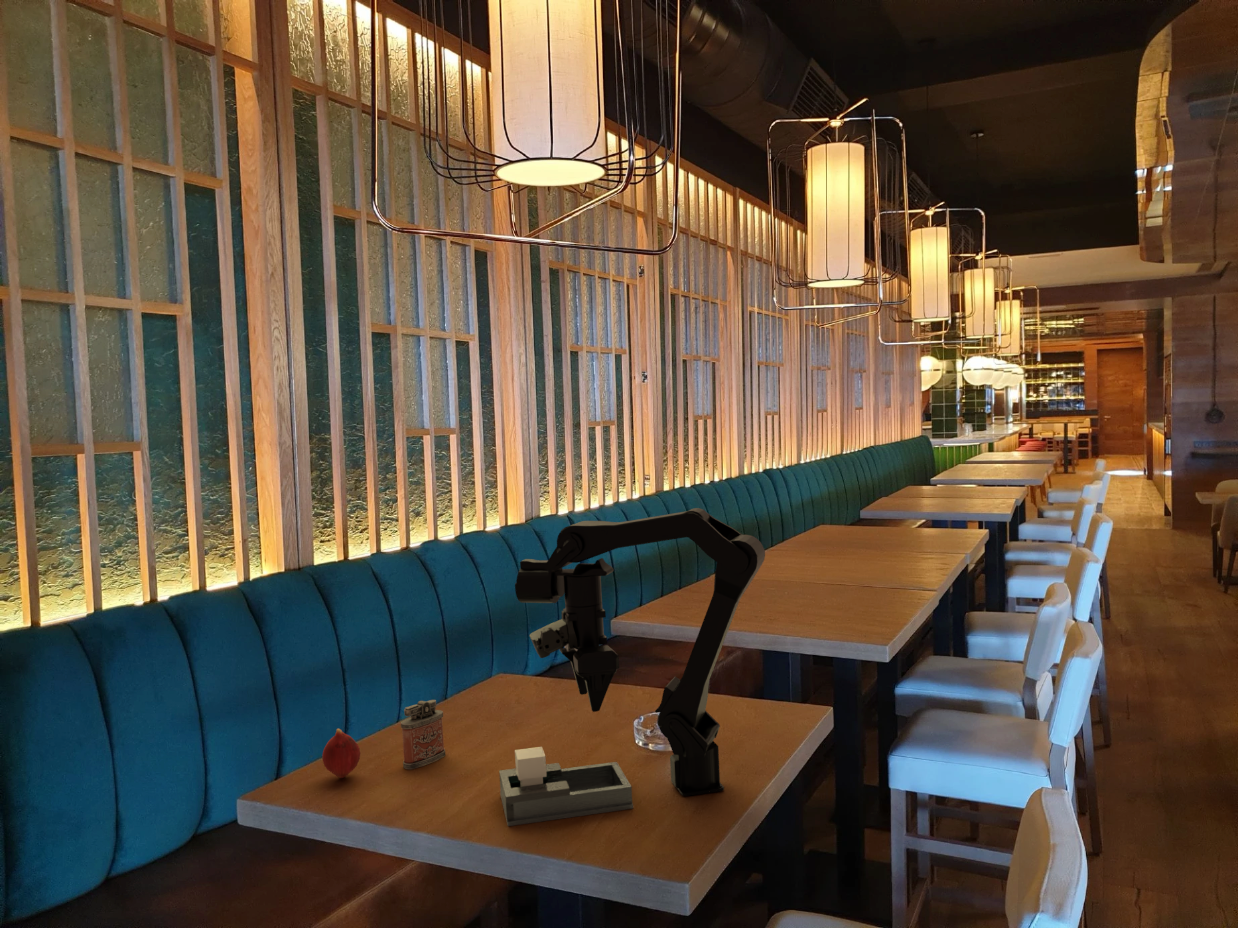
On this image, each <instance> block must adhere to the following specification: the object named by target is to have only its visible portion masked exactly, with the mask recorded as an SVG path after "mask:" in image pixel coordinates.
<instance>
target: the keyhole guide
mask: <svg viewBox="0 0 1238 928" xmlns="http://www.w3.org/2000/svg"><path fill="white" fill-rule="evenodd" d="M546 776H547V777H543V784H538V785H531V786H523V787H520V780H519V779H518V776H517V772H516V767H515V768H507V769H500V770H499V787H500V791H499V793H500V794H499V795H500V799H501V805H502V808H503V811H504V817H505V820H506V825H507V827H513V826H520V825H527V824H533V823H541V822H542V823H543V822H547V821H555V820H561V819H569V818H575V817H582V816H590V815H597V814H604V813H609V812H610V813H611V812H612V813H613V812H618V811H619V812H620V811H624V810H626V811H627V810H633V809H634V804H633V789H632V788H633V787H632V785H631V783H630V782H629V780H628V778H627V777H626V774H625V773H624V772H623V770H622V768H621V767H620V765H619V762H617V761H612V762H611V761H610V762H605V763H597V764H589V765H581V766H574V767H565V768H561V765H560V763H559V762H555V763H546Z"/></svg>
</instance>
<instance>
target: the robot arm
mask: <svg viewBox="0 0 1238 928" xmlns="http://www.w3.org/2000/svg"><path fill="white" fill-rule="evenodd" d="M683 538H688V539H690V540H691V541H692V542H694V543H695V545H697V546H698V547H699V549H700V550H702V552H704V553H705V554H706V556H708V557H709V558H710V559H711V560H713V561H715V562H716V567H715V572H714V582H713V583H714V585H713V593H712V597H711V599H710V602H709V605H708V607H707V609H706V612H705V616H704V618H703V620H702V623H701V626H700V628H699V632H698V633H697V637H696V640H695V642H694V643H693V644H694V645H693V646H692V647H693V648H692V650H691V652H690V656H689V658H688V660H687V663H686V666H685V668H684V671H683V674H682V676H681V678H678V677H677V676H674V677H673V678H672V679H671V680H670V681H669V682H668V683H667V685H665V687H664V689H663V691H662V697H661V702H660V704H659V706H658V707H657V708H656V709H655V710H654V712H655V713H657V714H658V715H657V720H656V721H657V726H658V728H659V730H660V732H661V734H662V735H663V736H664V737H665V738H666V739H667V741H668V743H669V746H670V749H671V751H672V753H673V754H672V755H670V757H669V760H670V763H669V764H670V765H669V766H670V782H671V784H672V785H673V786H674V788H676V789H677V790H678V792H679V794H680V795H681V796H684V797H686V796H687V797H688V796H694V795H696V796H697V795H701V794H709V793H715V792H716V793H717V792H723V791H725V786H724V785H723V784H722V783H721V777H720V773H721V772H720V755H719V753H720V752H719V750H720V749H719V745H718V744H717V743H716V742H715V739H716V738H717V736H718V733H719V730H720V727H721V725H720V723H719V722H718V721H717V720H715V718H714V717H713V716H712V715H711V714H710V713H709V712H708V711H707V710H706V708H707V704H708V699H709V684H710V683H709V682H710V680H711V679H710V678H711V676H712V674H713V671H714V669H715V665H716V663H717V661H718V659H719V656H720V653H721V651H722V647H723V644H724V643H725V641H726V640H725V639H726V637H727V635H728V632H729V630H730V627H731V623H732V620H733V619H734V616H735V613H736V610H737V609H738V605H739V603H740V600H741V599H742V597H743V595H744V594H745V592H747V589H748V587H749V586H750V585H751V583H752V581H753V580H754V578H755V576H757V575H756V574H757V573H758V572H759V570H760V568H761V567H762V565H763V564H764V561H765V558H766V550H765V548H764V545H763V544H762V542H761V541H760V540H759V539H758V538H757V537H755V536H753V535H750V534H742V533H741V532H739V531H738V530H736V529H735V528H734V527H732V526H730V525H728V524H726V523H724V522H722V521H721V520H719V519H718V518H715V517H714V516H712V515H711V514H710V513H708V512H707V511H706V510H705V509H702V508H699V507H695V508H691V509H689V510H686V511H681V512H680V511H679V512H675V513H674V512H673V513H669V514H663V515H656V516H650V517H645V518H639V519H633V520H626V521H620V522H617V521H615V522H614V521H608V520H607V521H606V520H582V521H579V522H576V523H573V524H570V525H568V526H565V527H563V528H562V529H561V531H560V532H559V533H558V535H557V538H556V547H555V549H554V550H553V552H552V554H551V555H550V556H549V558H548V559H544V560H538V559H533V558H525V559H523V560H521V561H520V562H519V565H520V566H519V567H520V568H519V570H518V573H517V575H516V581H515V583H514V591H515V596H516V599H517V600H518V602H519V603H522V604H523V603H525V604H526V603H531V604H533V603H535V604H556V603H558V602H559V600H560V598H561V597H563V596H564V603H565V608H562V610H561V619H559V620H557V621H554V622H552V623H548V624H547V625H545V626H543V627H540V628H539V629H537V630H535V631H532V632H530V634H529V638H530V640H531V642H532V645H533V647H534V649H535V651H536V654H537V655H538V656H539V658H540V659H544V658H547V657H548V656H550V655H551V654H552V653H554V652H556V651H558V650H559V652H560V653H561V654H562V655H563V656H564V657H565V658H567V660H569V661H570V664H571V667H572V671H573V674H574V677H575V682H576V685H577V689H578V692H579V694H580V695H581V696H582V695H587V696H588V700H589V701H588V702H589V705H590V709H591V711H592V712H593V713H595V712H596V713H597V712H600V710H601V707H602V705H603V702H604V700H605V698H606V695H607V693H608V689H609V687H610V684H611V682H612V680H613V677H614V676H615V674H616V673H617V670H618V669H620V656H619V654H618V653H616V651H615V650H613V648H611V647H610V646H609V645H608V638H607V636H606V635H605V633H604V632H605V630H604V618H606V616H607V615H606V613H607V612H606V610H605V609H604V608H603V598H602V597H603V595H602V581H601V580H602V577H606V576H608V575H610V574H611V573H613V572H614V568H613V567H612V566H611V565H610V564H609V563H607V562H606V560H604V558H602V557H600V558H599V559H597V560H596V561H595V562H594V563H592V562H591V563H587V562H586V563H585V562H584V563H580V562H583V561H587V560H590V559H592V558H595V557H598V556H600V555H603V554H606V553H609V552H611V551H614V550H617V549H619V548H620V549H621V548H626V547H627V548H628V547H634V546H639V545H645V544H646V545H647V544H651V543H652V544H653V543H659V542H666V541H672V540H679V539H683ZM575 563H576V565H575V567H574V568H564V567H567V566H569V565H571V564H575Z"/></svg>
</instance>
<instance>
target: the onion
mask: <svg viewBox="0 0 1238 928" xmlns="http://www.w3.org/2000/svg"><path fill="white" fill-rule="evenodd" d="M335 731H336V732H335V734H334V735H333V736H332V737H331V738H330V739H329V740H328V741H327V743H326V745H325V746H324V748H323V751H322V757H321V758H322V762H323V766H324V767H325V769H326V770H327V771H329V772H330V773H332V774H333V775H334V776H336V777H338V778H339V779H344V778H346V776H348V775H349V774H350V773H351V772H353V771H354V770H355V769H356V768H357V766H358V763H359V761H360V758H361V749H360V747H359V744H358V743H357V742H356V740H355V739H354V738H353V737H352V736H350V735H349V734H347V733H345V732H343V731H342V729H340V728H336V730H335Z"/></svg>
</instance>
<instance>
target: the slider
mask: <svg viewBox="0 0 1238 928" xmlns="http://www.w3.org/2000/svg"><path fill="white" fill-rule="evenodd" d="M514 759H515V768H516V772H517V776H518V779H519V780H520V787H523V786H531V785H538V784H543V777H547V776H546V764H547V763H546V762H547V761H546V754H545V751H544V749H543V746H537V747H529V748H519V749H514Z"/></svg>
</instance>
